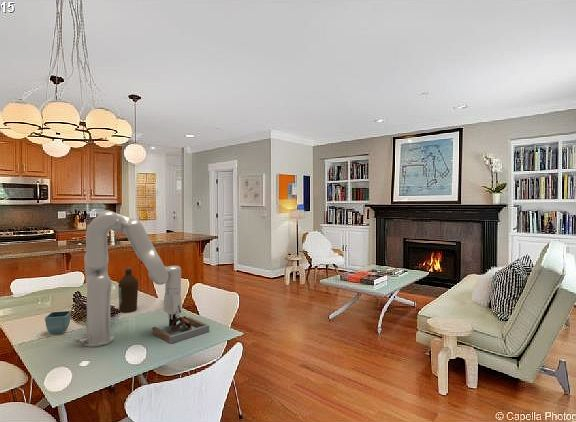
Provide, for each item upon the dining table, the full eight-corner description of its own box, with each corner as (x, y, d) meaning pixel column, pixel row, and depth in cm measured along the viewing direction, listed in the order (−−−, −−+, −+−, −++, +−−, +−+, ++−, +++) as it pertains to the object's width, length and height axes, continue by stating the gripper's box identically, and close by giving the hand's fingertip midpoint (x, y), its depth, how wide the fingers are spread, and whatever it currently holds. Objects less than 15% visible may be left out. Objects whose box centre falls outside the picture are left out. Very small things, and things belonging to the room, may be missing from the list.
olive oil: (137, 306, 210) (138, 265, 209) (138, 311, 200) (138, 269, 200) (118, 308, 205) (118, 266, 204) (118, 314, 196) (118, 270, 195)
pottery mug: (192, 335, 169) (183, 322, 166) (174, 343, 169) (166, 331, 166) (195, 321, 180) (187, 309, 178) (179, 328, 180) (171, 316, 178)
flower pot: (44, 336, 162) (44, 317, 162) (51, 329, 171) (51, 311, 170) (65, 335, 164) (65, 316, 164) (71, 328, 173) (71, 310, 173)
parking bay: (170, 343, 157) (171, 337, 157) (151, 333, 169) (152, 327, 169) (209, 331, 173) (209, 325, 173) (189, 322, 185) (189, 317, 185)
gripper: (158, 289, 178) (158, 324, 178) (174, 294, 168) (173, 332, 168) (172, 286, 183) (171, 320, 184) (187, 291, 174) (187, 328, 174)
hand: (172, 326), depth 176 cm, fingers closed
